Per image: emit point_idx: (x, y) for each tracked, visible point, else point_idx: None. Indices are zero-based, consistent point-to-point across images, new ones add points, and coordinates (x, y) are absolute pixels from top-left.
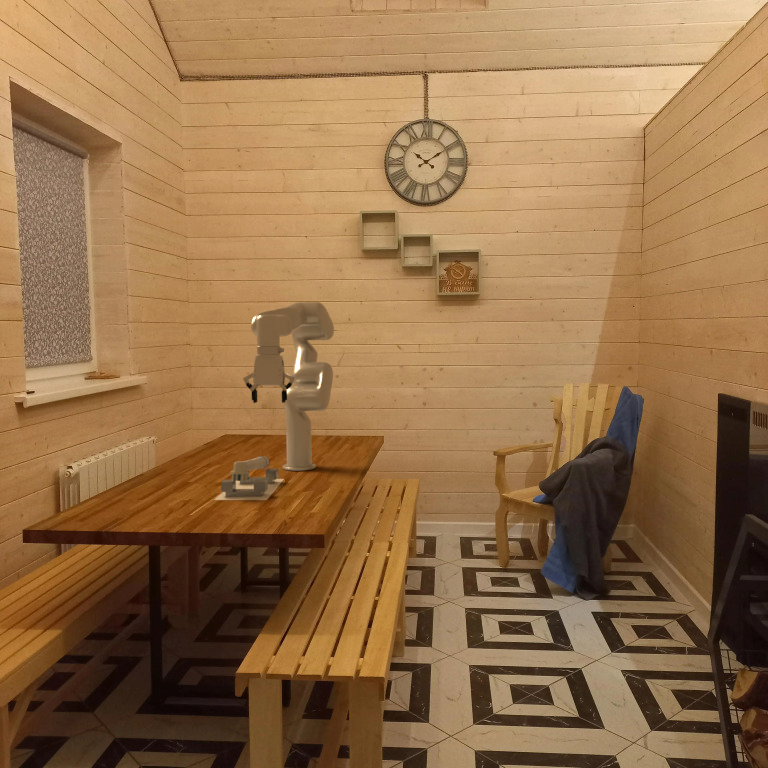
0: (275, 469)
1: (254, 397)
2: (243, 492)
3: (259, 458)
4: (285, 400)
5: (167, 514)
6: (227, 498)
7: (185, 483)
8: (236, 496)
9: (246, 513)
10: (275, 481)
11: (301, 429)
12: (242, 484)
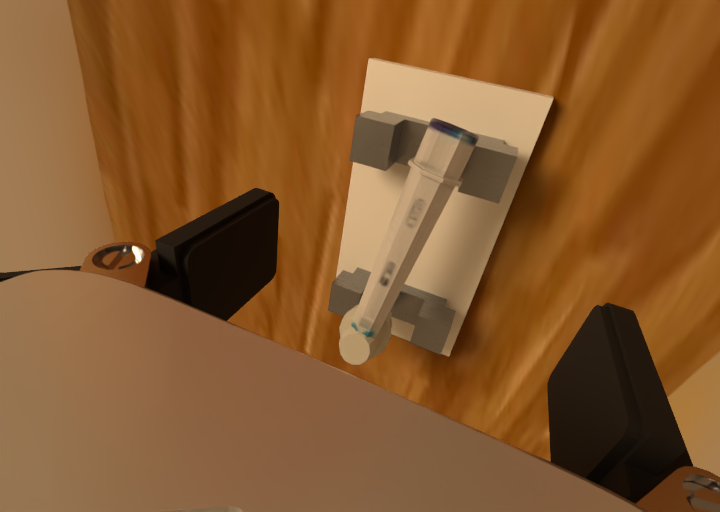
0: (500, 180)
1: (237, 305)
2: (391, 315)
3: (422, 222)
4: (635, 316)
5: (268, 334)
6: None
7: (211, 24)
8: None
9: (405, 387)
10: (506, 142)
11: None
12: None
